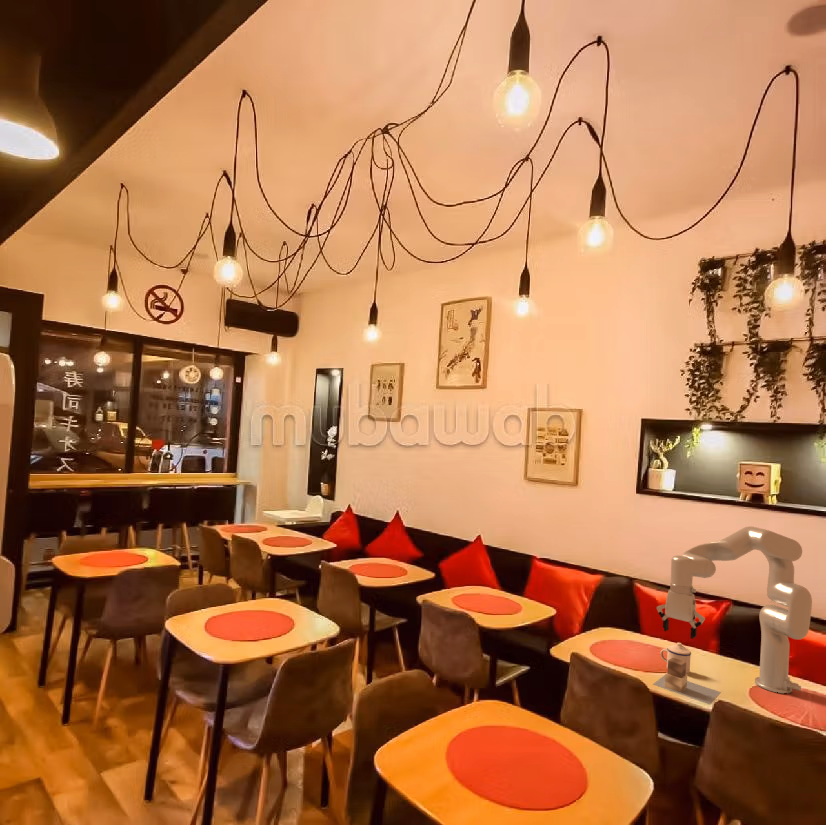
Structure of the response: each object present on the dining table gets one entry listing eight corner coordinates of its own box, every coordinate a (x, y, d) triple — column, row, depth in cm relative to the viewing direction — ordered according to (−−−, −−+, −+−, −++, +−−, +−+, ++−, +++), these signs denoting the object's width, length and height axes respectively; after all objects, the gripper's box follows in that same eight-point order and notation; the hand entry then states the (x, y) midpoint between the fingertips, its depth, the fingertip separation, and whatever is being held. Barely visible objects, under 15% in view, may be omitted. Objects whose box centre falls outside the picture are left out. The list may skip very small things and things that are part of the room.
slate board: (721, 694, 213) (721, 692, 213) (709, 707, 202) (709, 704, 202) (666, 676, 226) (666, 673, 226) (652, 686, 215) (652, 684, 215)
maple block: (686, 688, 214) (687, 674, 214) (681, 692, 210) (682, 679, 210) (670, 682, 218) (670, 669, 218) (664, 686, 214) (665, 673, 214)
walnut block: (685, 674, 214) (686, 661, 214) (681, 678, 211) (681, 664, 211) (671, 670, 218) (672, 657, 218) (667, 673, 214) (668, 660, 214)
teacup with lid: (693, 673, 232) (695, 644, 232) (684, 678, 226) (686, 649, 226) (664, 662, 241) (666, 635, 241) (655, 667, 235) (656, 639, 235)
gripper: (708, 592, 212) (706, 638, 211) (661, 582, 224) (659, 625, 223) (702, 596, 207) (700, 643, 206) (654, 585, 218) (652, 629, 218)
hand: (679, 634), depth 215 cm, fingers open, 9 cm apart
